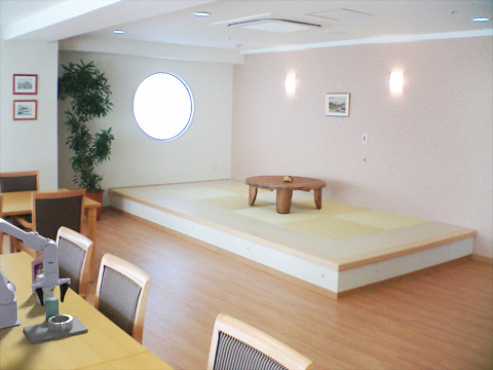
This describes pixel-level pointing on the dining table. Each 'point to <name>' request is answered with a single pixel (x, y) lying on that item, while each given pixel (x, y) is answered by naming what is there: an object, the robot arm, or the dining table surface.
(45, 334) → the board
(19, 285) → the dining table surface
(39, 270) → the greeting card
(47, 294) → the skincare box
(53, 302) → the plug
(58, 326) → the grey segmented ring
